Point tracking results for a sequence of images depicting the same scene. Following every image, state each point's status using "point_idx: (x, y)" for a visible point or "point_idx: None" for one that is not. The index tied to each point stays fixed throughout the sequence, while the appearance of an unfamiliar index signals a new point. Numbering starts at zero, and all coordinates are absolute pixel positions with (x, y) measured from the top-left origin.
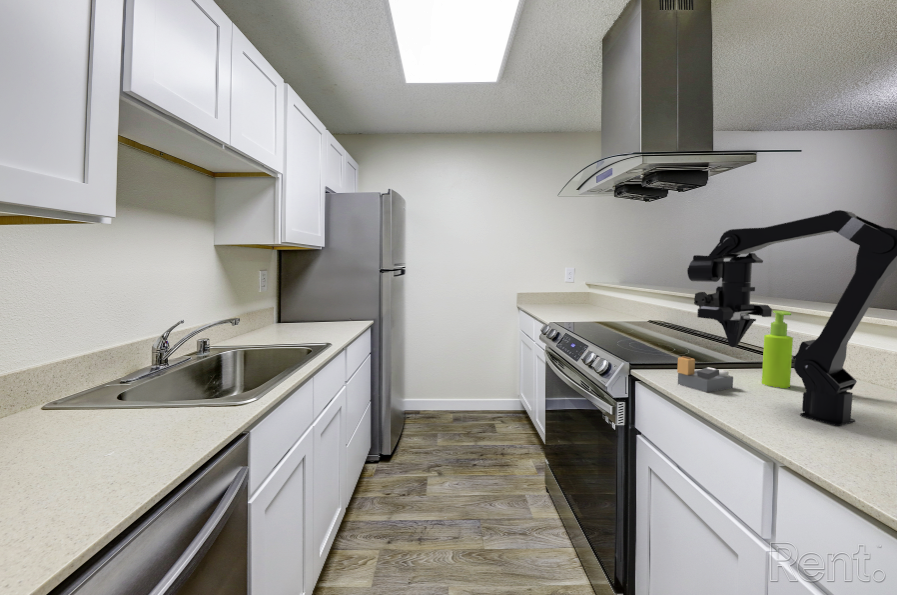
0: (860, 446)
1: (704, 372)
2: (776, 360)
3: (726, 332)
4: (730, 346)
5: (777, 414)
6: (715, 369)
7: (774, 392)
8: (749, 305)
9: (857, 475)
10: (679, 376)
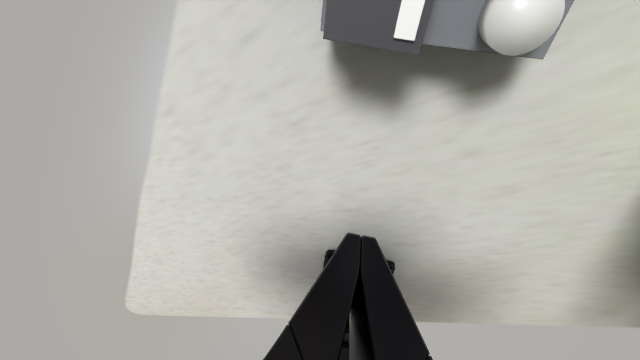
0: (259, 303)
1: (333, 6)
2: None
3: (282, 342)
4: (348, 235)
5: (299, 223)
6: (405, 40)
7: (560, 164)
8: None
9: (166, 302)
10: None
